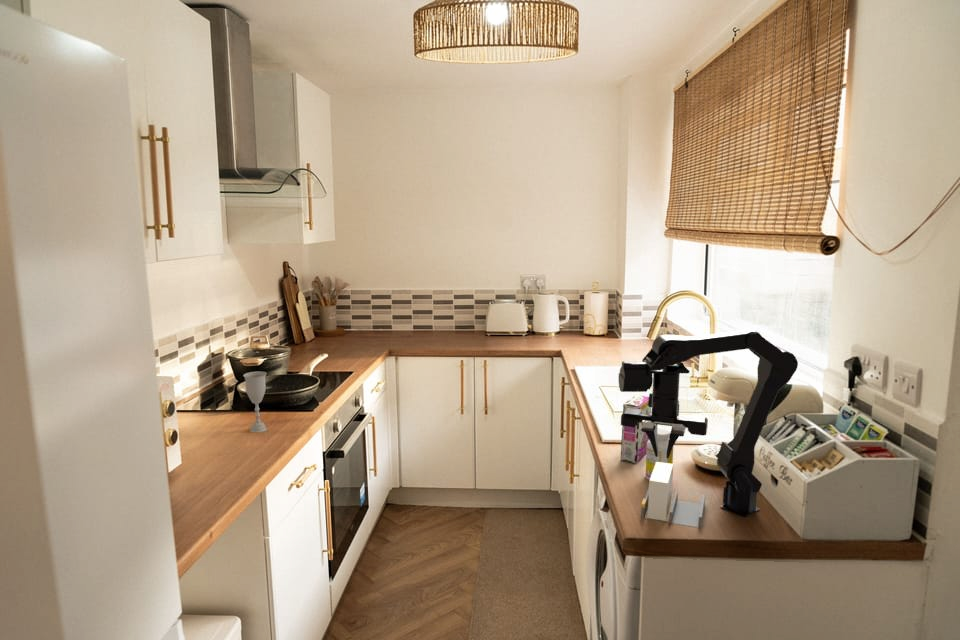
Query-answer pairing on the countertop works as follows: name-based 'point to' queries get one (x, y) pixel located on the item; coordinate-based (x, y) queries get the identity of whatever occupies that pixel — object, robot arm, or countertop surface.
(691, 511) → the slot rack
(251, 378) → the chalice
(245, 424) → the countertop surface
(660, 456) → the supplement bottle
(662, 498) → the white rectangular box
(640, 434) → the candy bar box
